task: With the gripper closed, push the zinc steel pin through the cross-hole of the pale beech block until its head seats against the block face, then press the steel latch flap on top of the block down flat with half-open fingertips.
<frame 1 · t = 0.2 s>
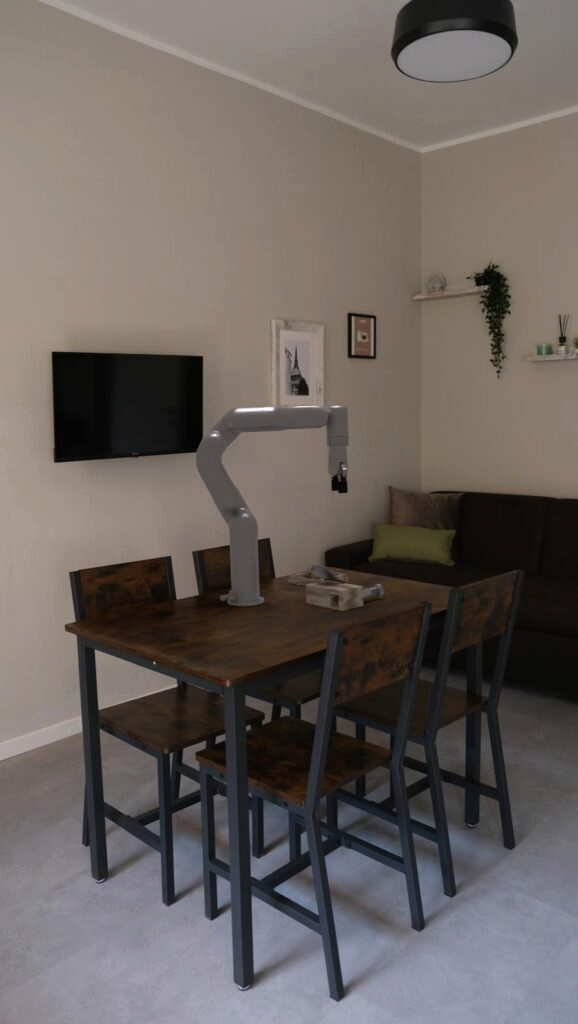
hand: (339, 491, 285), 37 cm above the table, fingers open, 9 cm apart
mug: (318, 583, 316), on the table
pin: (363, 593, 280), point 3 cm above the table, slide at 0.0 cm
block: (334, 604, 279), on the table
flap: (326, 573, 281), point 10 cm above the table, hinge at 40.0°
coaster frame: (318, 582, 316), on the table
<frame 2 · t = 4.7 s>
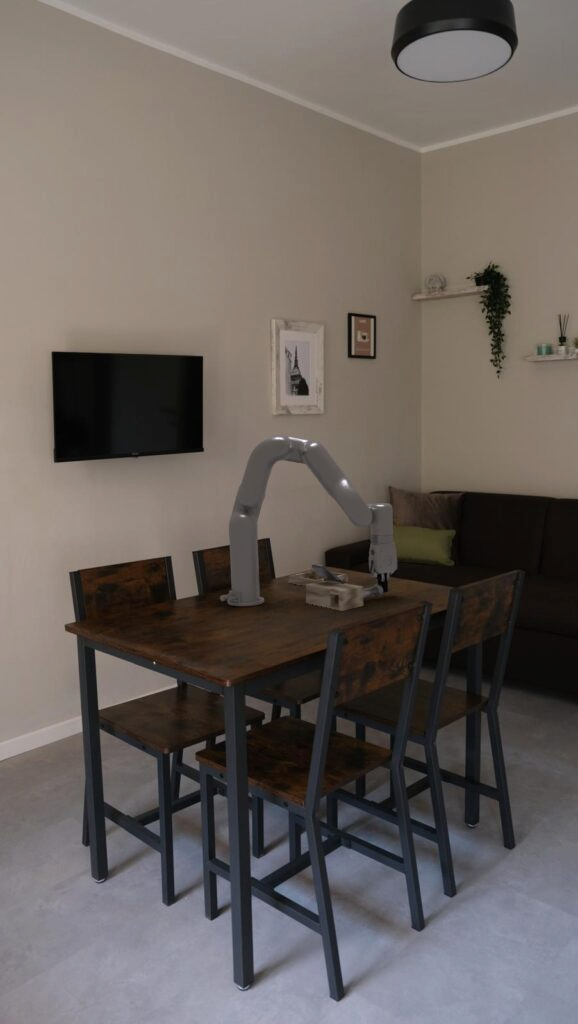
hand: (382, 591, 287), 2 cm above the table, fingers closed
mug: (323, 583, 317), on the table
pin: (363, 593, 280), point 3 cm above the table, slide at 0.3 cm, touching gripper
everything else where it was.
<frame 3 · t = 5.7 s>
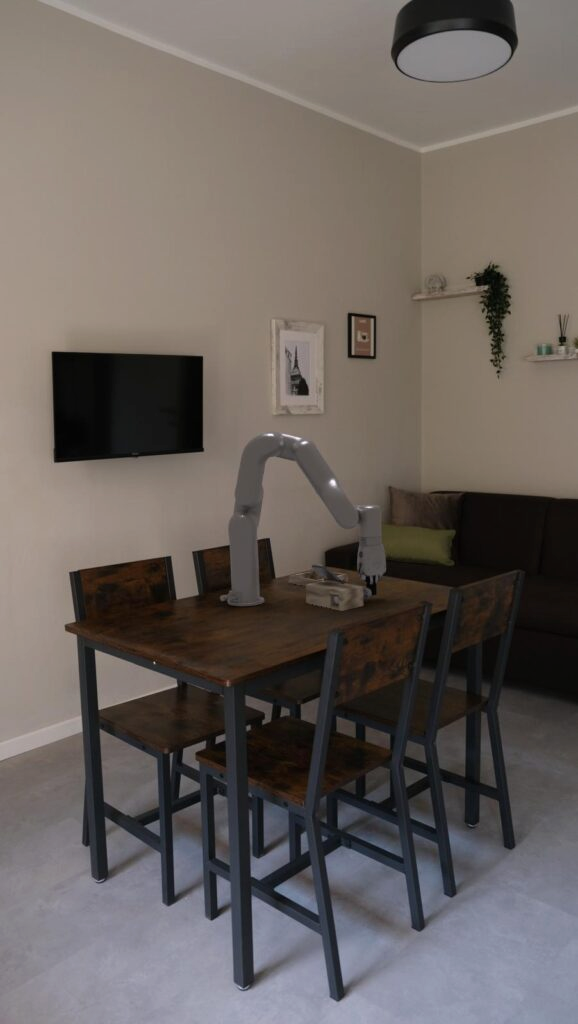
hand: (371, 594, 283), 2 cm above the table, fingers closed
pin: (351, 596, 276), point 3 cm above the table, slide at 6.1 cm, touching gripper
everything else where it was.
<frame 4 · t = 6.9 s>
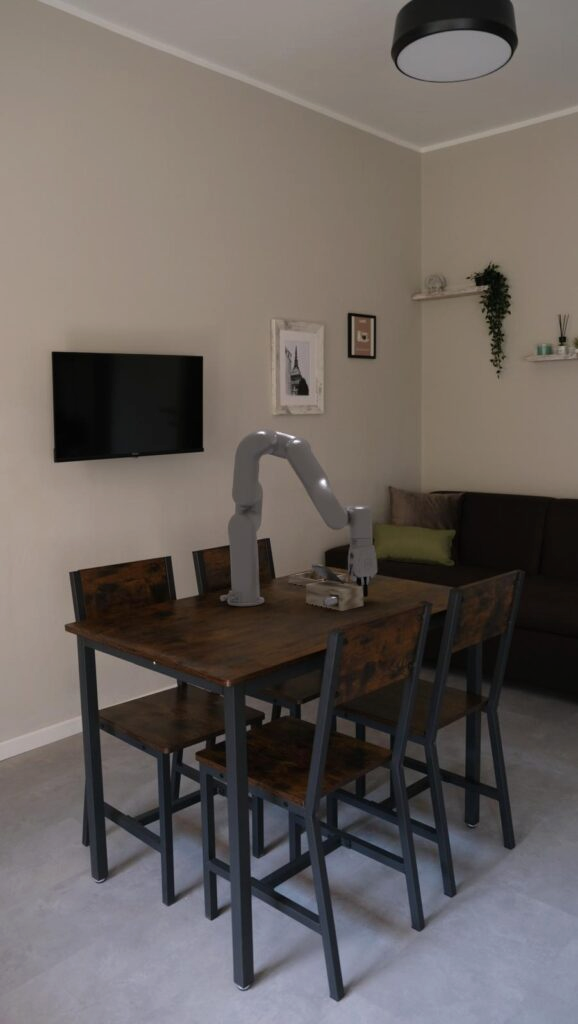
hand: (362, 596, 280), 2 cm above the table, fingers closed
pin: (342, 598, 274), point 3 cm above the table, slide at 10.4 cm, touching block, gripper
everything else where it was.
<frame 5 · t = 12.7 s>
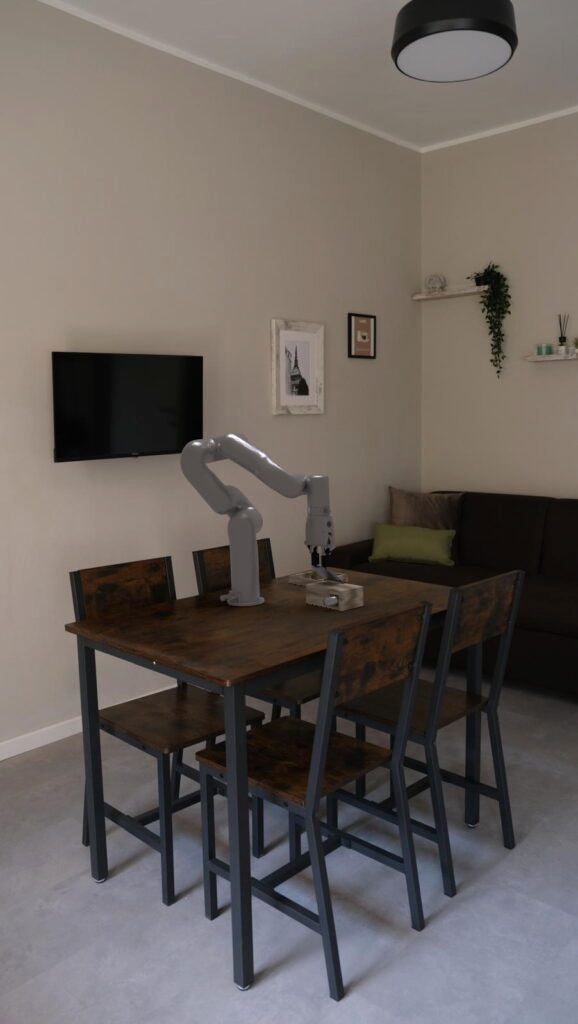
hand: (320, 565, 278), 13 cm above the table, fingers closed on flap, 4 cm apart
pin: (342, 598, 274), point 3 cm above the table, slide at 10.4 cm, touching block
flap: (326, 573, 281), point 10 cm above the table, hinge at 39.8°, touching gripper
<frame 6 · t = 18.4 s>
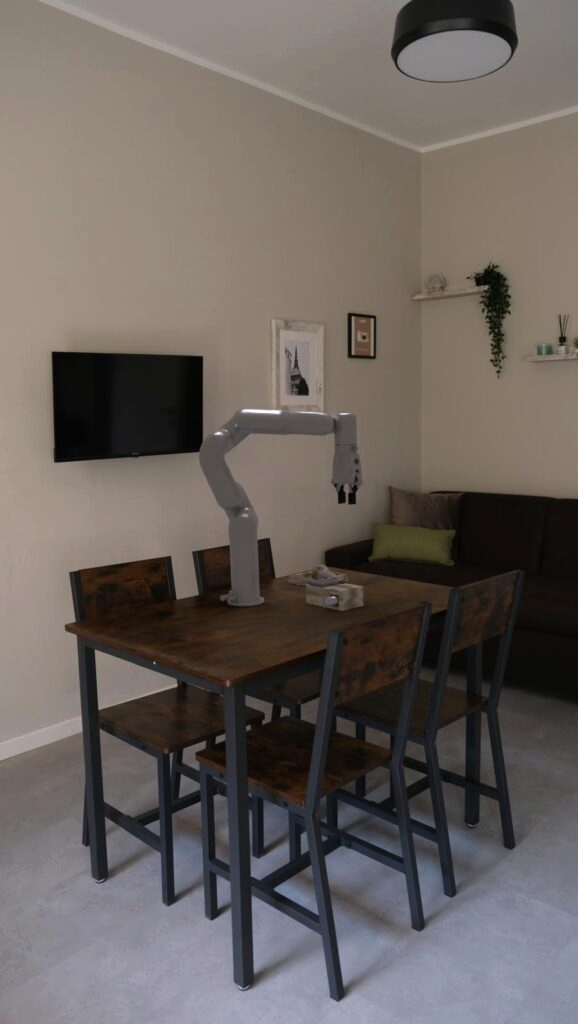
hand: (347, 503, 281), 33 cm above the table, fingers open, 4 cm apart
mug: (326, 583, 317), on the table, touching coaster frame
flap: (324, 582, 280), point 7 cm above the table, hinge at 1.0°
everything else where it was.
at the end: pin slide at 10.4 cm; flap at +1° (first picture: +40°); flap touching nothing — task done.
